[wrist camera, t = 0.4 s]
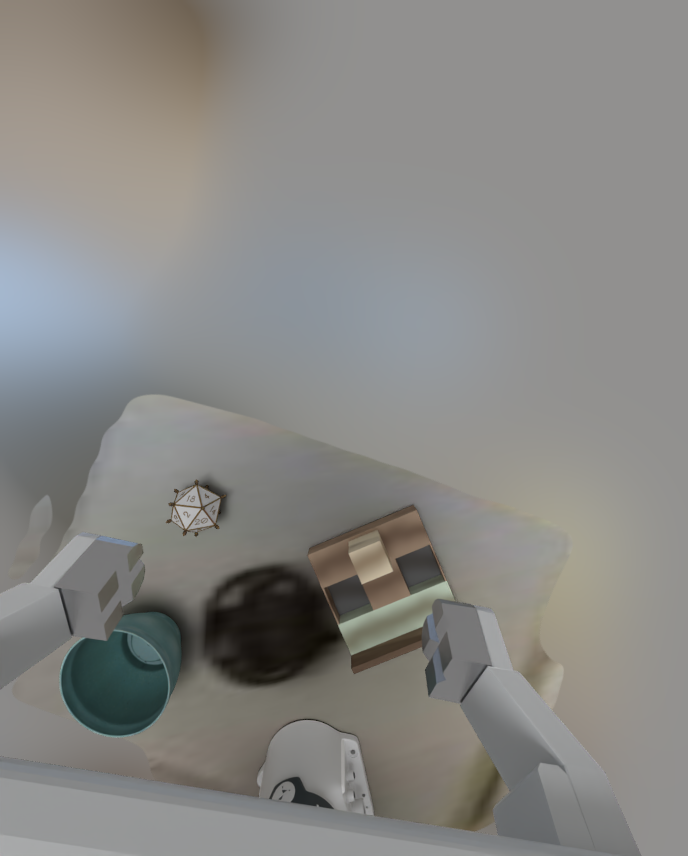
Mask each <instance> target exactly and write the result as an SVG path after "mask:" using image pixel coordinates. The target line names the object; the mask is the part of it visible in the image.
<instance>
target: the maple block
mask: <svg viewBox="0 0 688 856" xmlns="http://www.w3.org/2000/svg"><path fill="white" fill-rule="evenodd" d="M349 556H350V558H351V561H352V563H353V565H354V567H355V570H356V572H357V574H358V577H359V579H360V581H361V584H364V583H366V582H369V581H371V580H374V579H376V578H379V577H381V576H384V575H386V574H388V573H391V572H393V569H392V565H391V561H390V558H389V555H388V553H387V551H386V548H385V546H384V544H383V541H382V539H381V537H380V534H379V532H378V530H375V531H373V532H370V533H368V534H365V535H363V536H361V537H358V538H356V539H353V540H351V541H349Z"/></svg>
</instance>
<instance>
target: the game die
mask: <svg viewBox="0 0 688 856" xmlns="http://www.w3.org/2000/svg"><path fill="white" fill-rule="evenodd" d="M208 487H209V486H208V485H206V486H205V487H202V486H200V485H198V480H197V479H196V481H195V485H194V486H191V487H189V488H187V489H184V490H182V491H180V492H179V491H178V490H177V489H174V492H175V493H177V495H176V498H175V501H174V503H169V505H170V506H173V509H172V515H171V519H169V520H167V521H166V523H170V522H171V521H172V522H174V523H175V524H176V525H178V526H179V527H180V528H182V529H183V530H184V532H183V533H182V534H183V536H184V535H186V533H187V531H188V532H195V536H196V537H197V535H198V532H199V531H202V530H205V529H207V528H210V527H213V526H215V528H216V529H219V526H218V525H216V522H217V518H218V514H220V513H221V512H220V511H219V508H220V503H221V499H222V498H225V497H226V495H224V494H223V495H222V496H219V495H217V494H215V493H214V492H212V491H210V490H208Z"/></svg>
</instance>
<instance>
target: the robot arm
mask: <svg viewBox="0 0 688 856" xmlns="http://www.w3.org/2000/svg"><path fill="white" fill-rule="evenodd" d="M142 554H143V547H142V544H138V543H134V542H129V541H124V540H120V539H115V538H110V537H106V536H101V535H96V534H91V533H86V532H82V533H80V534H78V535H76V536H75V537H74V538H73V539H72V540H71V541H70V542H69V543H68V544H67V545H66V546H65V547H64V548H63V549H62V550H61V551H60V553H59V554H58V555H57V556H56V557H55V558H54V559H53V560H52V561H51V562H50V563H49V564H48V565H47V566H46V567H45V568H44V569H43V570H42V571H41V572H40V573H39V574H38V575H37V577H36V578H35V579H33V580H32V581H31V583H21V584H19V585H17V586H15V587H13V588H11V589H9V590H7V591H5V592H2V593H0V689H2V688H3V687H4V686H6V685H7V684H9V683H10V682H11V681H13V680H14V679H16V678H17V677H18V676H20V675H21V674H22V673H24V672H25V671H27V670H28V669H29V668H31V667H32V666H34V665H35V664H36V663H38V662H39V661H41V660H42V659H43V658H45V657H46V656H47V655H49V654H50V653H52V652H53V651H54V650H56V649H57V648H59V647H60V646H61V645H63V644H64V643H66V642H67V641H68V640H70V639H71V638H72V636H77V637H84V638H90V639H97V640H104V641H107V640H108V638H109V637H110V635H111V634H112V632H113V631H114V629H115V627H116V626H117V624H118V623H119V621H120V620H121V618H122V617H123V612H122V607H123V606H124V605H126V604H128V603H129V602H131V601H133V599H134V598H135V596H136V594H137V593H138V591H139V589H140V587H141V584H142V582H143V579H144V573H145V565H144V563H143V562H142V561H141V560H140V559H139V558H140V557H141V556H142ZM432 611H433V613H432V614H430V615H428V616H427V617H426V619H425V621H424V624H423V629H422V649H423V653H424V655H425V656H426V658H427V659H428V660H429V663H428V665H427V667H426V669H425V673H426V680H427V688H428V695H429V697H431V698H435V699H440V700H445V701H450V702H455V703H460V704H461V705H460V706H461V708H462V710H463V712H464V713H465V715H466V717H467V718H468V720H469V722H470V724H471V725H472V727H473V729H474V731H475V732H476V734H477V736H478V737H479V739H480V741H481V743H482V744H483V746H484V748H485V749H486V751H487V753H488V755H489V756H490V758H491V760H492V761H493V763H494V765H495V767H496V768H497V770H498V772H499V773H500V775H501V777H502V779H503V780H504V782H505V784H506V785H507V787H508V789H509V791H510V792H509V793H508V794H506V795H505V796H504V797H503V798H502V799H501V800H500V801H499V802H498V803H497V804H496V806H495V807H494V809H493V813H494V818H495V823H496V828H497V833H498V835H492V834H485V833H479V832H473V831H467V830H460V829H454V828H448V827H442V826H435V825H429V824H423V823H417V822H410V821H404V820H398V819H392V818H385V817H379V816H374V808H373V803H372V799H371V794H370V790H369V785H368V781H367V776H366V772H365V767H364V763H363V758H362V754H361V749H360V744H359V740H358V738H357V737H356V736H354V735H351V734H347V733H341V732H339V731H337V730H335V729H334V728H332V727H330V726H329V725H327V724H324V723H322V722H319V721H313V720H302V721H296V722H293V723H291V724H288V725H287V726H285V727H283V728H282V729H281V730H279V731H278V732H277V733H276V735H275V736H274V737H273V739H272V740H271V742H270V744H269V747H268V751H267V756H266V761H265V763H264V764H263V766H262V767H261V769H260V770H259V772H258V777H257V783H258V785H259V787H260V793H259V797H254V796H247V795H241V794H235V793H229V792H222V791H216V790H210V789H204V788H197V787H191V786H185V785H179V784H172V783H166V782H160V781H153V780H147V779H141V778H134V777H128V776H122V775H116V774H110V773H103V772H97V771H90V770H84V769H78V768H72V767H66V766H59V765H53V764H47V763H40V762H34V761H28V760H22V759H16V758H9V757H3V756H0V856H641V854H640V852H639V849H638V847H637V845H636V843H635V840H634V838H633V836H632V833H631V831H630V829H629V826H628V824H627V822H626V820H625V817H624V815H623V813H622V810H621V808H620V806H619V804H618V801H617V799H616V797H615V794H614V792H613V790H612V788H611V785H610V783H609V781H608V778H607V776H606V774H605V772H604V771H603V769H602V768H601V767H600V766H599V765H598V763H596V761H595V760H594V759H593V758H592V757H591V755H590V754H589V753H588V752H587V751H586V749H585V748H584V747H583V746H582V745H581V744H580V743H579V741H578V740H577V739H576V738H575V737H574V735H573V734H572V733H571V732H570V731H569V730H568V728H567V727H566V726H565V725H564V724H563V722H561V720H560V719H559V718H558V717H557V716H556V714H555V713H554V712H553V711H552V710H551V708H550V707H549V706H548V705H547V704H546V703H545V701H544V700H543V699H542V698H541V697H540V696H539V694H538V693H537V692H536V691H535V690H534V688H533V687H532V686H531V685H530V684H529V683H528V681H527V680H526V679H525V678H524V677H523V676H522V674H521V673H520V672H518V671H514V670H513V667H512V664H511V661H510V658H509V655H508V652H507V649H506V646H505V643H504V640H503V637H502V634H501V632H500V629H499V626H498V623H497V620H496V617H495V614H494V612H493V610H492V609H491V608H487V607H481V606H476V605H471V604H467V603H461V602H455V601H450V600H444V599H436V600H435V601H434V603H433V605H432ZM352 750H354V751H352Z"/></svg>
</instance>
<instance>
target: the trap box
mask: <svg viewBox="0 0 688 856" xmlns="http://www.w3.org/2000/svg"><path fill="white" fill-rule="evenodd" d="M375 530H378V532H379V534H380V537H381V539H382V541H383V544H384V546H385V548H386V551H387V553H388V555H389V558H390V561H391V565H392V569H393V572H391V573H388V574H386V575H384V576H381V577H379V578H376V579H374V580H371V581H369V582H366V583H364V584H361V581H360V579H359V577H358V574H357V572H356V570H355V567H354V565H353V563H352V561H351V558H350V556H349V541H351V540H353V539H356V538H358V537H361V536H363V535H365V534H368V533H370V532H373V531H375ZM308 558H309V560H310V562H311V564H312V567H313V569H314V571H315V574H316V576H317V578H318V580H319V583H320V585H321V587H322V589H323V592H324V594H325V596H326V599H327V601H328V603H329V605H330V608H331V610H332V612H333V615H334V617H335V619H336V621H337V624H338V626H339V628H340V631H341V633H342V635H343V637H344V640H345V642H346V644H347V647H348V649H349V651H350V653H351V669H352V671H353V673H354V674H355V673H358V672H360V671H363V670H365V669H368V668H370V667H373V666H375V665H378V664H380V663H383V662H385V661H388V660H390V659H393V658H395V657H398V656H400V655H403V654H405V653H408V652H410V651H413V650H415V649H418V648H420V647H422V629H423V624H424V621H425V619H426V617H427V616H428V615H430V614H432V613H433V611H432V605H433V603H434V601H435V600H436V599H444V600H450V601H455V599H454V597H453V594H452V592H451V590H450V587H449V585H448V582H447V580H446V578H445V575H444V573H443V571H442V568H441V566H440V564H439V561H438V559H437V556H436V554H435V552H434V549H433V547H432V545H431V542H430V540H429V538H428V535H427V533H426V531H425V528H424V526H423V523H422V521H421V519H420V516H419V514H418V512H417V510H416V508H415V507H414V505H412V506H410V507H407V508H405V509H403V510H400V511H398V512H395V513H393V514H391V515H388V516H386V517H383V518H381V519H379V520H376V521H374V522H371V523H369V524H367V525H364V526H362V527H359V528H357V529H354V530H352V531H350V532H347V533H345V534H342V535H340V536H338V537H335V538H333V539H330V540H328V541H326V542H323V543H321V544H318V545H316V546H314V547H311V548H309V552H308ZM455 602H456V601H455Z"/></svg>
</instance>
